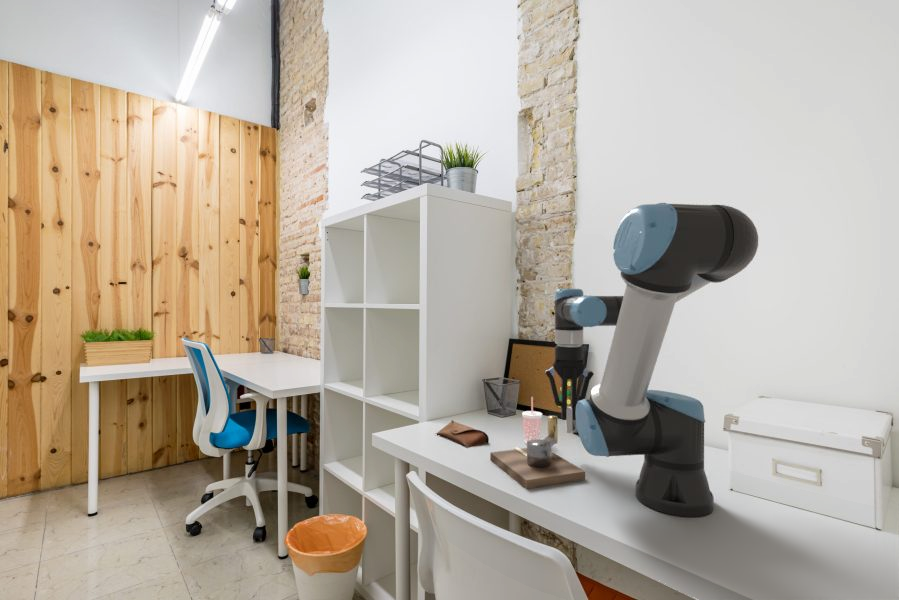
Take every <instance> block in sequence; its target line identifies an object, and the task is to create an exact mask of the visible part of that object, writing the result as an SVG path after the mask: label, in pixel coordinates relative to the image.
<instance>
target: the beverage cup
mask: <svg viewBox="0 0 899 600" xmlns="http://www.w3.org/2000/svg"><path fill="white" fill-rule="evenodd" d="M530 399H531V400H530V401H531V402H530V403H531V407H530V409H531V410H526V411H522V413H521V415H522V421H523V423H522V424H523V440H524V444H525V443H526V445H527V442H528V441H529V440H535V439H539V440H541V430H542V427H541V426H542V418H543V413H542V412H541V411H536V410H534V397H533V396H531V397H530Z"/></svg>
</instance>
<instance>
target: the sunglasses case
mask: <svg viewBox="0 0 899 600" xmlns="http://www.w3.org/2000/svg"><path fill="white" fill-rule="evenodd" d="M435 434H437V435H436V436H438V435H440V436H439V437H441V436H443V437H442V438H444V437H445V439H447V440H449V439H450V440H449V441H451V440H452V442H454V443H456V444H459V445H461V446H462V447H465V448H468V449H470V448H473V447H477V446H481V445H485V444H489V442H490V441H489V436H488V434H487V432H484V431H482V430H480V429H475V428H473V427H471V426H468V425H465V424H462V423H459V422H456V421H455V420H453V419H452V420H451V421H450V422H449V423H448V424H446V425H445V426H444V427H443V428H441V429H440V430H439V431H437V432H436V433H435Z"/></svg>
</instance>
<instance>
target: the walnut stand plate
mask: <svg viewBox="0 0 899 600" xmlns="http://www.w3.org/2000/svg"><path fill="white" fill-rule="evenodd" d="M489 453H490V456H489V457H490V461H491V462H492V463H494V464H495V466H497V467H498V468H499V469H501V470H503V471H504V473H506V474H507V475H508V476H510V477H511V478H512V479H513V480H514V481H516V482H517V483H518V484H520V485H521V486H522V487H524V488H525V489H526V490H528V489H534V488H541V487H547V486H548V485H549V486H553V485H559V484H561V485H562V484H567V482H568V483H572V482H573V481H574V482H580V481H585V480H586V471H585V470H584V469H582V468H580V467H579V466H577V465H575V464H573V463H572V462H570V461H568V460H566V459H565V458H564V457H561V456H560V455H558V454H557V453H556V452H555V453H554V452H553V451H551V465H550V466H548V467H534V466H531V465H529V464H528V463H527V447H524V448H522V447H521V448H519V447H518V446H517V447H513V449H507V450H500V451H492V452H489ZM579 480H580V481H579Z"/></svg>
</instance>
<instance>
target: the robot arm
mask: <svg viewBox="0 0 899 600" xmlns="http://www.w3.org/2000/svg"><path fill="white" fill-rule="evenodd" d="M758 247H759V235H758V229H757V227H756V226H755V224H754V222H753V220H752V219H751V218H750V217H749V216H748V215H747V214H746V213H744V212H743V211H741V210H740V209H738V208H735V207H734V206H730V205H725V204H688V203H687V204H683V203H666V202H659V203H653V204H652V203H649V204H648V203H646V204H640V205H638V206H636V207H635V206H634V207H633V208H632V209H631V210H630V211H628V212H627V213H626V214H625V215H624V217H623V218H622V220H621V221H620V223H619V225H618V227H617V229H616V232H615V235H614V240H613V247H612V248H613V250H614V252H613V253H612V255H613V260H614V263H615V266H616V267H617V269H618V270H619V271H620V278H621V279H622V280H623V282H624V283H625V284H626V286H625V291H624V294H623V295H584V290H582V289H581V288H559V289H557V290H555V293H554V294H555V295H554V344H556V345H555V347H554V362H553V363H552V367H550V368H549V369H545V371H544V373H545V375H546V376H547V377H548V380H549V383H550V384H549V385H550V388H551V392H552V396H553V400H554V404H555V405H556V406H558V407H560V408H561V412H560V413H561V419H562V420H563V421H565V422H564V424H565V426H564V427H565V428H564V429H565V432H566V434H573V433H572V420H576V424H577V429H578V433H577V434H578V437H579V438H580V439H579V440H580V441H581V442H580V443H581V444H582V447H583V448H584V449H585V451H586V452H587V453H588V454H590V455H591V456H595V457H606V458H609V457H621V456H622V457H623V456H642V455H644V456H643V458H644V459H643V462H642V463H643V464H642V466H641V469H640V473H639V477H638V479H637V481H636V483H635V497H636V498H637V500H638V501H639V502H640V503H642V505H644V506H646V507H648V508H650V509H653V510H655V511H658V512H660V513H662V514H663V513H664V514H666V515H667V514H668V515H673V516H678V517H688V518H689V517H690V518H694V517H695V518H696V517H703V516H708V515H710V514H711V513H713V511H714V508H715V501H714V500H715V499H714V494H713V493H712V491H711V490H710V485H709V481H708V477H707V475H706V471H705V423H706V420H705V419H706V418H705V411H704V410H705V409H704V405H703V404H702V402H701V401H700V400H698V399H697V398H694V397H692V396H688V395H684V394H682V393H681V394H680V393H677V392H671V391H666V390H665V391H664V390H657V389H649V385H650V383H651V380H652V377H653V373H654V370H655V366H656V364H657V360H658V358H659V354H660V353H661V352H660V351H661V348H662V345H663V342H664V339H665V336H666V332H667V331H668V326H669V324H670V320H671V317H672V313H673V311H674V308H675V304H676V303H678V302H679V301H681V300H682V299H684V298H686V297H688V296H690V295H691V294H693V293H694V292H696V291H698V290H700V289H701V288H704V287H706V286H707V285H708V284H710V283H713V284H714V283H721V282H724V281H727V280H728V279H730V278H732V277H734V276H736V275H737V274H739V273H741V272H742V271H743V270H745V269H746V268H747V267H748V266H749V264H750V263H751V262H752V261H753V260H754V258H755V256H756V254H757V250H758ZM609 326H611V327H613V326H615V329H614V332H613V337H612V340H611V343H610V344H611V345H610V348H609V352H608V356H607V360H606V365H605V368H604V372H603V375H602V379H601V382H599V383H597V384H595V385H594V386H593V387H592V389H591V392H590V394H589V395H590V396H589V398H588V399H586V397H587V392H588V389H589V383H590V380H591V379H592V378H593V376H594V372H593V371H592V370H590V369H588V368H587V367H586V365H585V362H584V347H583V346H582V345H583V344H584V328H594V327H609ZM555 372H556V373H557V376H558V377H560V381H561V385H560V387H561V390H560V392H561V393H560V396H561V397H559V393H558V389H557V385H556V381H555V377H554V376H555ZM581 375H583V379H582V383H581V386H580V390H579V394H578V387H577V386H578V385H577V384H578V379H579V378H580V376H581ZM568 380H570V406H568V399H567V398H568ZM577 394H578V395H577ZM577 397H578V398H577Z"/></svg>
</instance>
